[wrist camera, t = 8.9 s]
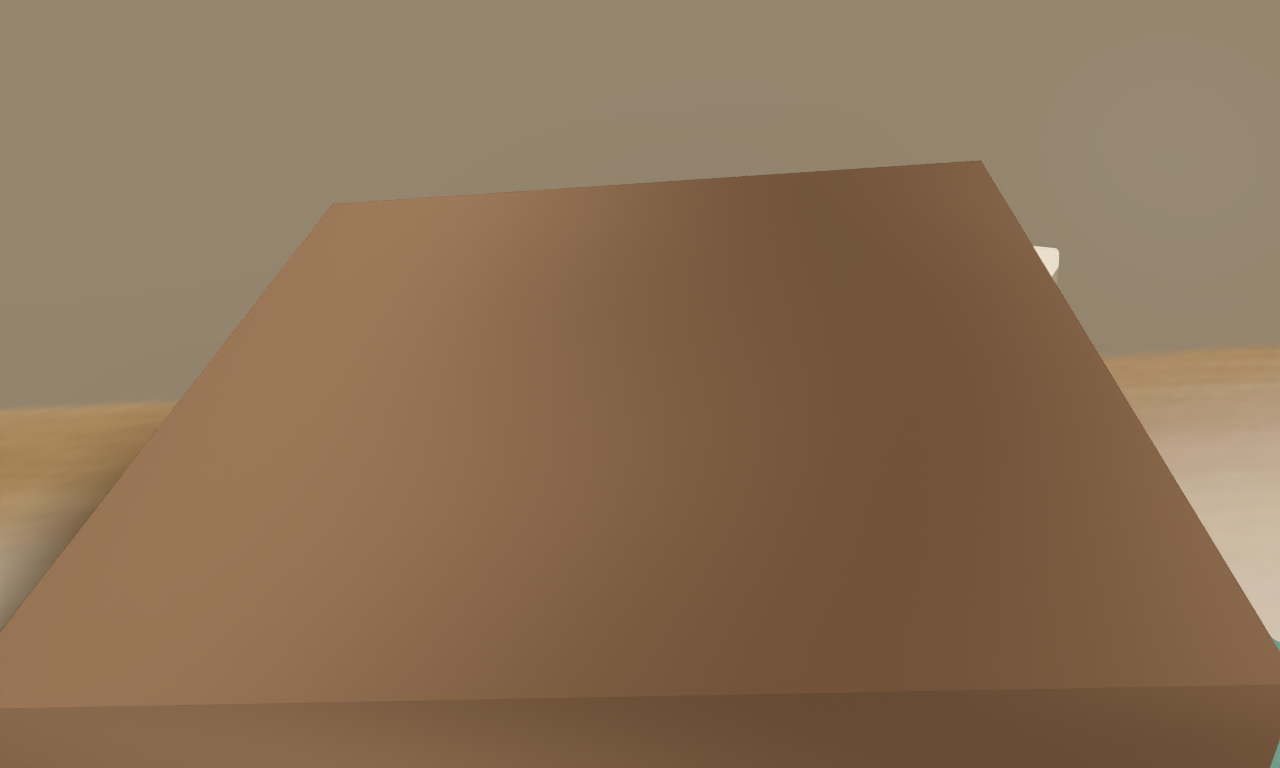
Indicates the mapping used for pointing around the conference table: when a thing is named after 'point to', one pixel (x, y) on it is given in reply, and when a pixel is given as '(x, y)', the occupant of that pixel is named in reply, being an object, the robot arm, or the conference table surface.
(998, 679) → the walnut brick
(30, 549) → the conference table surface
